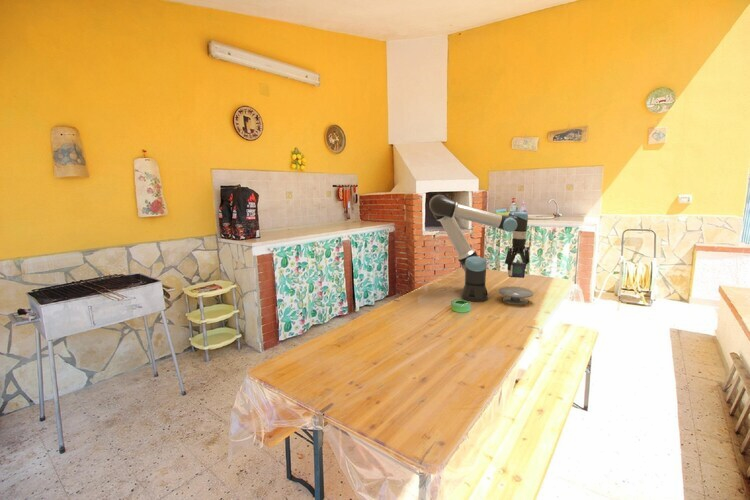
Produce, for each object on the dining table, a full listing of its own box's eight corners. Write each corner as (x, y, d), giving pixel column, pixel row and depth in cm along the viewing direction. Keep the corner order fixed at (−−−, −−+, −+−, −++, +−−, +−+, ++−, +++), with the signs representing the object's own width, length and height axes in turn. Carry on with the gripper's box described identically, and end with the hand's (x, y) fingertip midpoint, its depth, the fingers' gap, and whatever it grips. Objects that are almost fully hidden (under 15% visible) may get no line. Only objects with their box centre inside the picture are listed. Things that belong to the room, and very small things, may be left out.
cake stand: (511, 308, 191) (512, 297, 190) (491, 298, 208) (492, 288, 207) (539, 304, 196) (540, 294, 194) (518, 295, 213) (518, 285, 211)
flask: (508, 277, 217) (510, 259, 215) (507, 275, 220) (509, 258, 218) (524, 278, 215) (526, 260, 213) (523, 276, 218) (525, 259, 216)
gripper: (508, 239, 206) (505, 277, 211) (538, 238, 212) (535, 275, 216) (500, 237, 213) (497, 274, 218) (529, 236, 219) (526, 272, 224)
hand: (516, 274), depth 217 cm, fingers closed on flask, 8 cm apart
